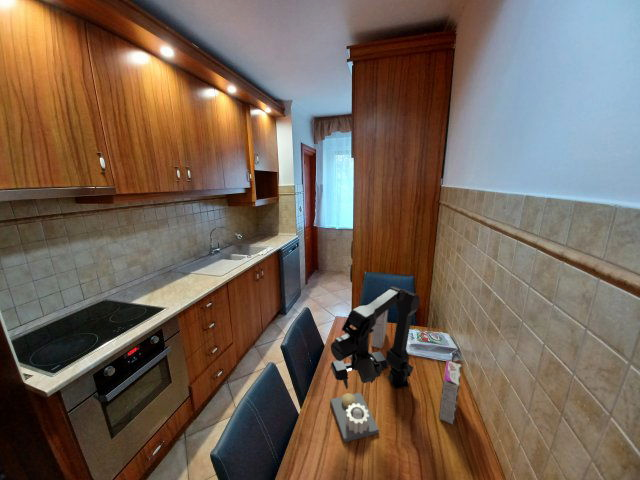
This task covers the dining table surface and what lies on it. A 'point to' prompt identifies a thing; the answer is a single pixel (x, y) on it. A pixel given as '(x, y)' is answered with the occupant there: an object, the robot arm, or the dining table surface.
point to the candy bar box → (450, 392)
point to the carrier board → (343, 419)
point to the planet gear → (355, 423)
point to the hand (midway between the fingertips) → (358, 385)
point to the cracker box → (379, 331)
